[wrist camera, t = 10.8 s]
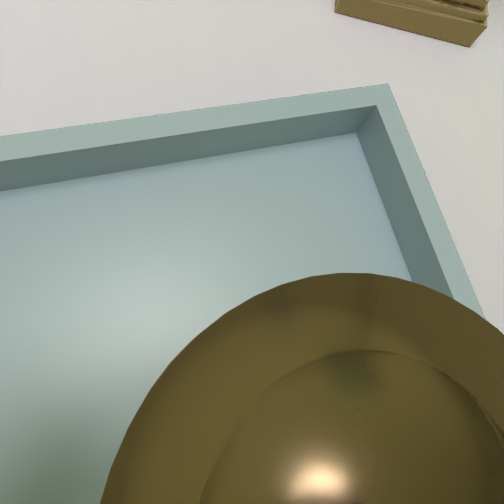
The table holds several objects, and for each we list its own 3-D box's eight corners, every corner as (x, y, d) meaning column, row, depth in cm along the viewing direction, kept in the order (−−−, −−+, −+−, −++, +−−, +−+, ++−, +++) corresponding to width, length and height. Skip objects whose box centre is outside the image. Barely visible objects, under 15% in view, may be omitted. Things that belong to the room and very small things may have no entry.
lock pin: (224, 492, 15) (527, 1095, 3) (121, 426, 15) (-73, 725, 2) (283, 383, 16) (656, 434, 4) (191, 322, 16) (287, 183, 4)
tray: (541, 594, 16) (617, 639, 14) (-84, 927, 11) (-172, 1113, 8) (360, 121, 21) (388, 83, 19) (-130, 199, 16) (-195, 163, 13)
